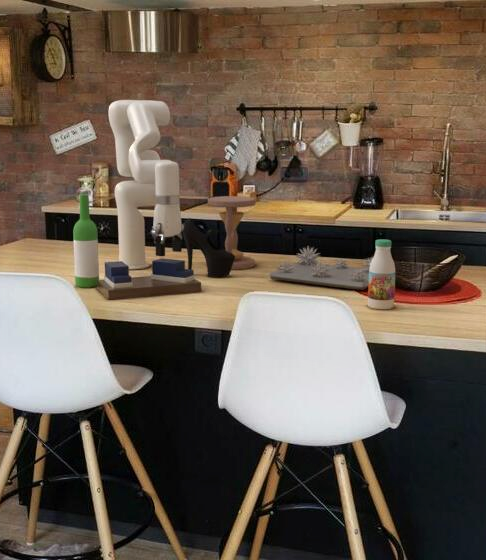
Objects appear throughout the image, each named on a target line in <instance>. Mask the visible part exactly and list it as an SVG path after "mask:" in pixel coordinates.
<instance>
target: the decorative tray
mask: <svg viewBox="0 0 486 560" xmlns="http://www.w3.org/2000/svg"><path fill="white" fill-rule="evenodd" d="M299 251H300V253H299V252H298V253H296V256H295V258H299V259H298V260H295V262H294V263H289V262H287V261H284V263H278V265H279V266H277V269H275V270H274V271H273V270H272V271H271V272H270V273H268V276H269V277H270V279H271V280H275V281H285V282H293V283H301V284H309V285H311V284H312V285H319V286H324V287H325V286H327V287H332V288H333V287H334V288H341V289H342V288H343V289H350V290H358V291H364V290H366V289H368V283H369V268H370V264H371V261H372V259H373V258H372V257H367V258H364V260H365V262H362V264H361V266H362V267H355V266H348V264H349V261H347V259H343V258H338V259H336V262H334V264H329V262H327V263H326V262H324V261H323V262H322V260H321V259H317V258H320V257H321V255H320V254H321V252H318V253H316V252H317V251H318V248H315V249H314V246H313V247H310V245H307V247H302V249H301V248H299Z"/></svg>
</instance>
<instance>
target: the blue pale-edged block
mask: <svg viewBox="0 0 486 560" xmlns="http://www.w3.org/2000/svg"><path fill="white" fill-rule="evenodd" d="M151 265H152V266H151V267H152V268H151V269H152V273H151V274H150V276H151V279H155V280H163V281H171V282H180V283H187V282H189V281H192V280H195V279H196V278H195V277H196V276H195V273H194V271H195V270H194V269H192V270H190V269H188V268H186V260H182V259H173V258H162V257H161V258H158V259H154V260H151Z"/></svg>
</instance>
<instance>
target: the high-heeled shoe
mask: <svg viewBox="0 0 486 560" xmlns="http://www.w3.org/2000/svg"><path fill="white" fill-rule="evenodd" d="M182 224H183V225H184V229H183V235H182V237H183V238H184V242H185V246H186V252H187V269H190V270H193V269H192V268H193V253H194V246H196V247H197V248H198V249H199V250H200V251H201V254H203V257H204V259H205V264H206V270H207V271H206V272H207V274H206V276H207V277H208V278H218V279H220V278H224V277H228V276H230V275H231V272H232V270H231V268H232V265H233V262H234V259H235V256H234V254H232V253H230V252H228V251H226V249H224V248H219V247H217V246H216V245H215V244H214V243H213V242H212V240H211V239H210V236H213V235H217V234H219V233H220V232H219V229H213V230H211V229H210V230H208V231H205V230H203V229H202V227H200V226H199V225H198V224H197V223H196V222H195V221H194V220H193V219H192V218H190V217H189V218H187V219H186V220H185V222H184V223H182Z"/></svg>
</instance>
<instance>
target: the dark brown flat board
mask: <svg viewBox="0 0 486 560" xmlns="http://www.w3.org/2000/svg"><path fill="white" fill-rule="evenodd" d="M131 282H132V283H133V287H128V288H116V289H113V288H112V287H111V286H110V285H109V284H108V283H107V282H106V281H104V278H103V279H99V280H97V286H96V288H97V290H98V291H99V292H100V294H102V295H103V296H104V298H106V299H107V300H108V301H111V300H112V301H113V300H123V299H135V298H145V297H146V298H147V297H157V296H169V295H178V294H180V295H181V294H192V293H201V292H202V282H201V281H200V280H198V279H196V278H195V280H192V281H189V282H187V283H180V282H171V281H163V280H155V279H151V275H143V276H131Z"/></svg>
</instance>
